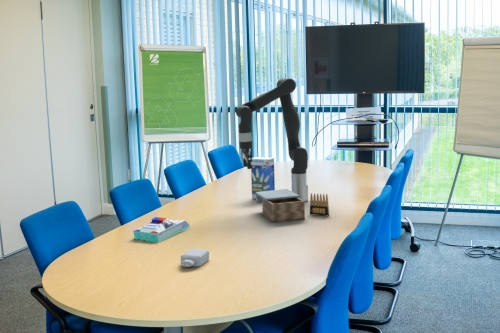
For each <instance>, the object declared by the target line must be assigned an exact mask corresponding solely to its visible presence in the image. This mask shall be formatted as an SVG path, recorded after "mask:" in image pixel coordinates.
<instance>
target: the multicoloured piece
mask: <svg viewBox="0 0 500 333" xmlns="http://www.w3.org/2000/svg"><path fill="white" fill-rule="evenodd" d="M190 228H191V226H190V223H188V221H187V220H185V219H184V220H179V219H178V220H173V219H170V218H169V219H168V218H167V217H157V216H155V217H153V218H152V219H151V221H150V222H149V223H147V224H145V225H142V226H141V227H139V228H136V229H134V230H132V232H133V236H134V238H133V240H134V239H140V240H139V241H143V240H145V242H154V243H161V241H165V240H166V239H168V238H171V237H172V236H175V235H177V234H180V233H181V232H183V231H185V230H188V229H190Z"/></svg>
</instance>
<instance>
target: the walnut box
mask: <svg viewBox="0 0 500 333" xmlns="http://www.w3.org/2000/svg"><path fill="white" fill-rule="evenodd" d="M261 203H262V204H261V205H262V208H261V209H262V210H261V211H262V216H263V217H265V218H266V219H267V220H268V221H269V222H271V223H273V224H275V223H283V222H292V221H301V220H306V211H305V209H306V208H305V206H306V205H305V201H303V200H302V199H300V198H298V197H296V198H286V199H276V200H265V199H263V198H262V202H261Z"/></svg>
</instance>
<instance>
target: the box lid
mask: <svg viewBox="0 0 500 333" xmlns="http://www.w3.org/2000/svg"><path fill="white" fill-rule="evenodd" d="M296 197H299V195H297V194H296V193H294V192H292V190H290V189H287V188H284V189H275V190H272V191H261V192H256V199H255V203H256V204H258V203H262V198H263V199H265V200H276V199H286V198H296Z"/></svg>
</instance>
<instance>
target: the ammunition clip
mask: <svg viewBox="0 0 500 333" xmlns="http://www.w3.org/2000/svg"><path fill="white" fill-rule="evenodd" d="M309 199H310V200H309V215H310V214H318V215H317V216H323V215H328V216H329V215H330V208H329V196H328V193H326V195H325V193H323V195H322V193H320V194H319V193H314V194H313V192H311V193H310V198H309Z"/></svg>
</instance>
